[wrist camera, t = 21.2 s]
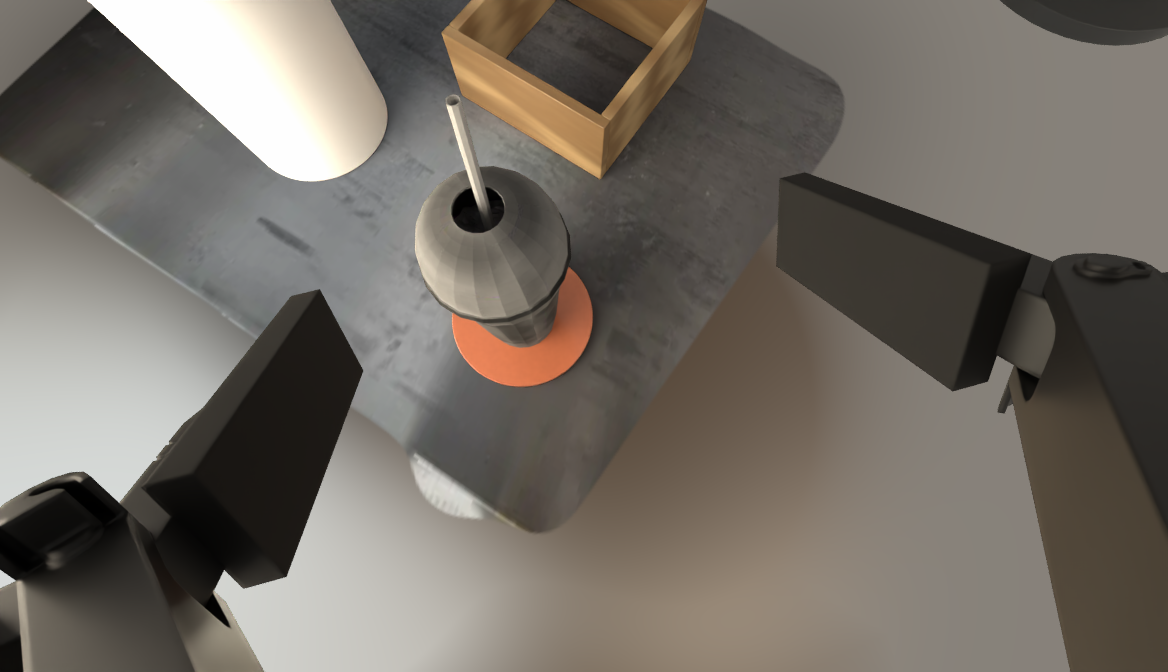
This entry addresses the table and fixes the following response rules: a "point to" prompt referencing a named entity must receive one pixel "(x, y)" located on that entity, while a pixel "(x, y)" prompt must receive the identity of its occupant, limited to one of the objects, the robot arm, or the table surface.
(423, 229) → the beverage cup
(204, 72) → the tall pillar cylinder
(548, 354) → the coaster
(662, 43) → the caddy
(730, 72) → the table surface
